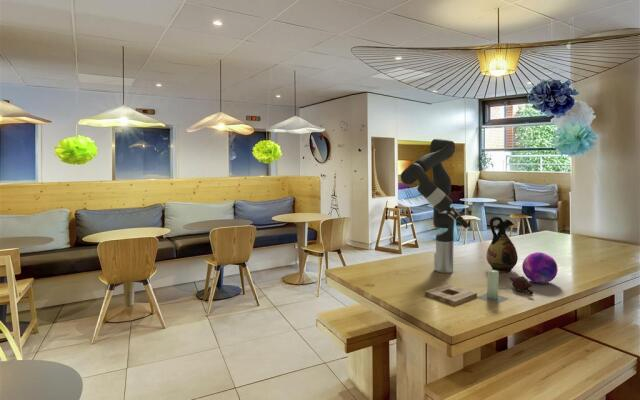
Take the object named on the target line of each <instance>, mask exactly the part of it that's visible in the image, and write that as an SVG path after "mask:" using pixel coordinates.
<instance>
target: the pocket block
mask: <svg viewBox="0 0 640 400" xmlns="http://www.w3.org/2000/svg"><path fill="white" fill-rule="evenodd" d="M424 296H426V297H428V298H431V299H434V300H437V301H441V302H444V303H446V304H449V305H452V306H457V305H460V304H463V303H466V302H468V301H470V300H473V299H475V298H476V297H478V293H477V292H475V291H472V290H468V289H464V288H461V287H458V286H453V285H451V284H447V283H446V284H442V285H440V286H437V287H434V288H431V289H427V290H424ZM476 299H477V298H476Z"/></svg>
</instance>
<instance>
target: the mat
mask: <svg viewBox="0 0 640 400" xmlns="http://www.w3.org/2000/svg"><path fill="white" fill-rule="evenodd" d="M476 299H479V300H483V301H486V302H489V303H493V304H495V305H499V304H500V303H504V302H505V301H507V300H510V298H509V297H506V296H501V295H499V294H498V299H497V300H492V299H488V298H487V292H486V293H484V294H481V295H477V297H476Z"/></svg>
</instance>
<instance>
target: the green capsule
mask: <svg viewBox="0 0 640 400" xmlns="http://www.w3.org/2000/svg"><path fill="white" fill-rule="evenodd" d="M499 273H500V272H499V271H496V270H492V269H488V270H487V275H486V276H487V279H486V281H487V282H486V283H487V284H486V293H487V298H488V299H492V300H497V299H498V295H499V275H500V274H499Z"/></svg>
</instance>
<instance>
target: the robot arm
mask: <svg viewBox="0 0 640 400" xmlns="http://www.w3.org/2000/svg"><path fill="white" fill-rule="evenodd" d="M455 150H456V144H455V142H454V141H453V140H450V139H442V138H434V139H432V140H431V142H430V145H429V153H426V154H424V155H422V156H421V157H419V158H418V159H417V160H415V161H414V162H413V163H411V164H409V165H408V167H406V168H405V169H404V170H402V172H401V174H400V180H401V182H402V183H403V184H405V185H408V186H409V185H412V184H414V183H415V182H416V181H418V182H419V185H418V186H417V191H418V192H419V194H421V196H423V198H425V200H426V201H427V202H428V203H429V204H430V205H431V206H432V207H433V213H432V214H433V215H432V216H433V218H432V219H433V227H434V228H436V229H447V230H446V231H443V232H442V233H438V234H436V236H435V253H434V254H433V255H434V262H433V263H434V264H433V265H434V267H433V268H434V269H433V270H435V272H439V273H444V274H448V273H451V274H452V273H454V230H455V229H454V227H455V221H456V223H459V224H460V226H462V227H463V228H464V229H468V228H469V227H470V224H469V223H468V222H467V221H466V220H464V217H463V216H461V214H460V213H459V212H458V211H457V210H456V209H457V208H455V207H453V206H452V204H453V200H452V199H451V198H450V195H451V192H452V180H451V177H450V175H449V173H448V171H447V170H446V169H445V167H444V166H443V162H444V161H446V160H449V159H451V158H452V157H453V156H454V154H455ZM430 170H431V171H432V173H431V174H432V180H431V179H430V177H429V175H427V172H429V171H430ZM451 206H452V207H451Z"/></svg>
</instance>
